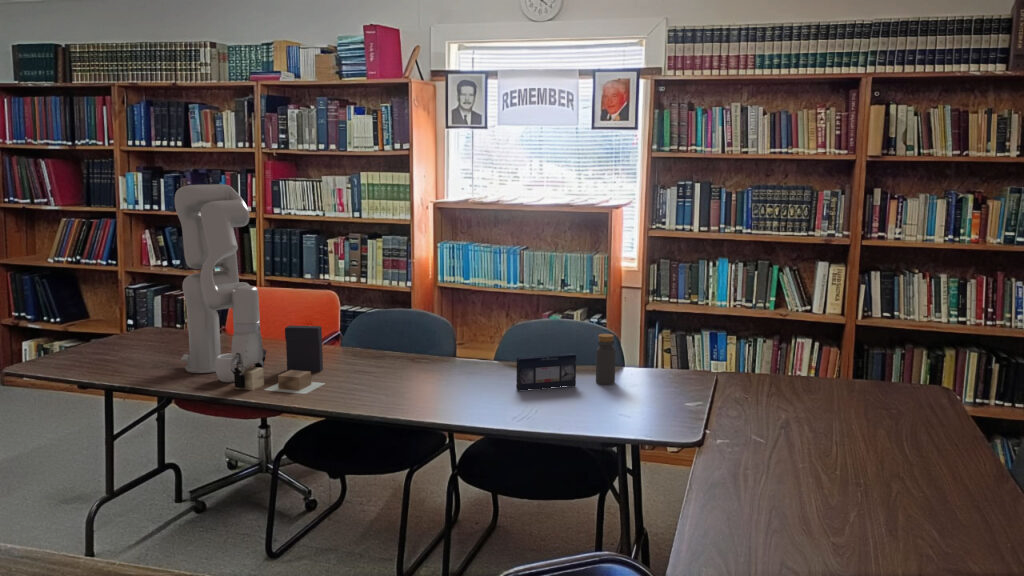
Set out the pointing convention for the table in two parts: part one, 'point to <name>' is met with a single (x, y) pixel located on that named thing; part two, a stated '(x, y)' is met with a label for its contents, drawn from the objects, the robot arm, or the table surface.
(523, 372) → the vhs cassette tape
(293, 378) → the walnut block
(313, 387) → the board
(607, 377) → the bottle
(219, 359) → the mug
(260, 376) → the maple cube
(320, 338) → the black upright slab
